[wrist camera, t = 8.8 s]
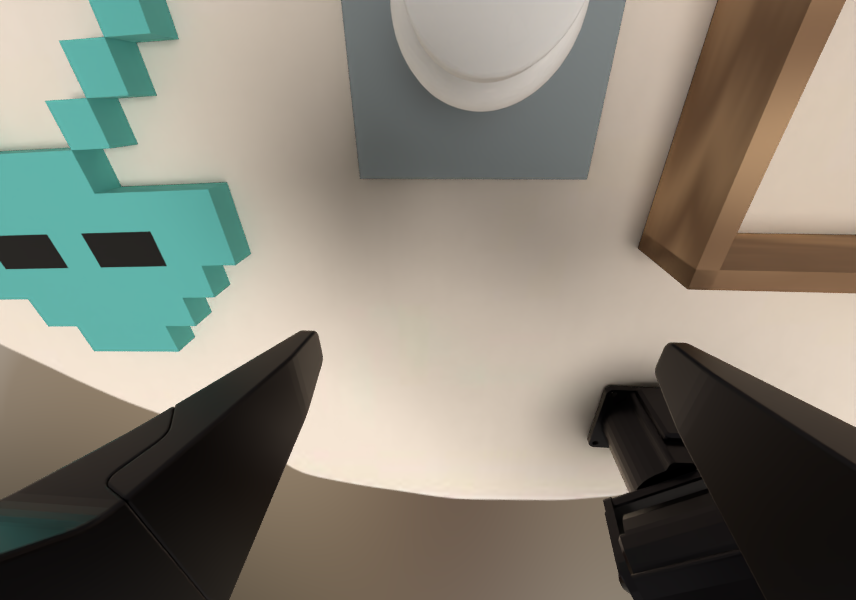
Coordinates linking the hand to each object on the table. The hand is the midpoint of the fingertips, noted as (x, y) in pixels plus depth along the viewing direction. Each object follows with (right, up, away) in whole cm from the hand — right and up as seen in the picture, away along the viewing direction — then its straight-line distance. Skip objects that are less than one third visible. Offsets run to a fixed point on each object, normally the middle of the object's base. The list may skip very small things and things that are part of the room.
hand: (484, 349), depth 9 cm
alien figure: (-23, +7, +13) cm, 27 cm away
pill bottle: (+1, +13, +6) cm, 15 cm away
